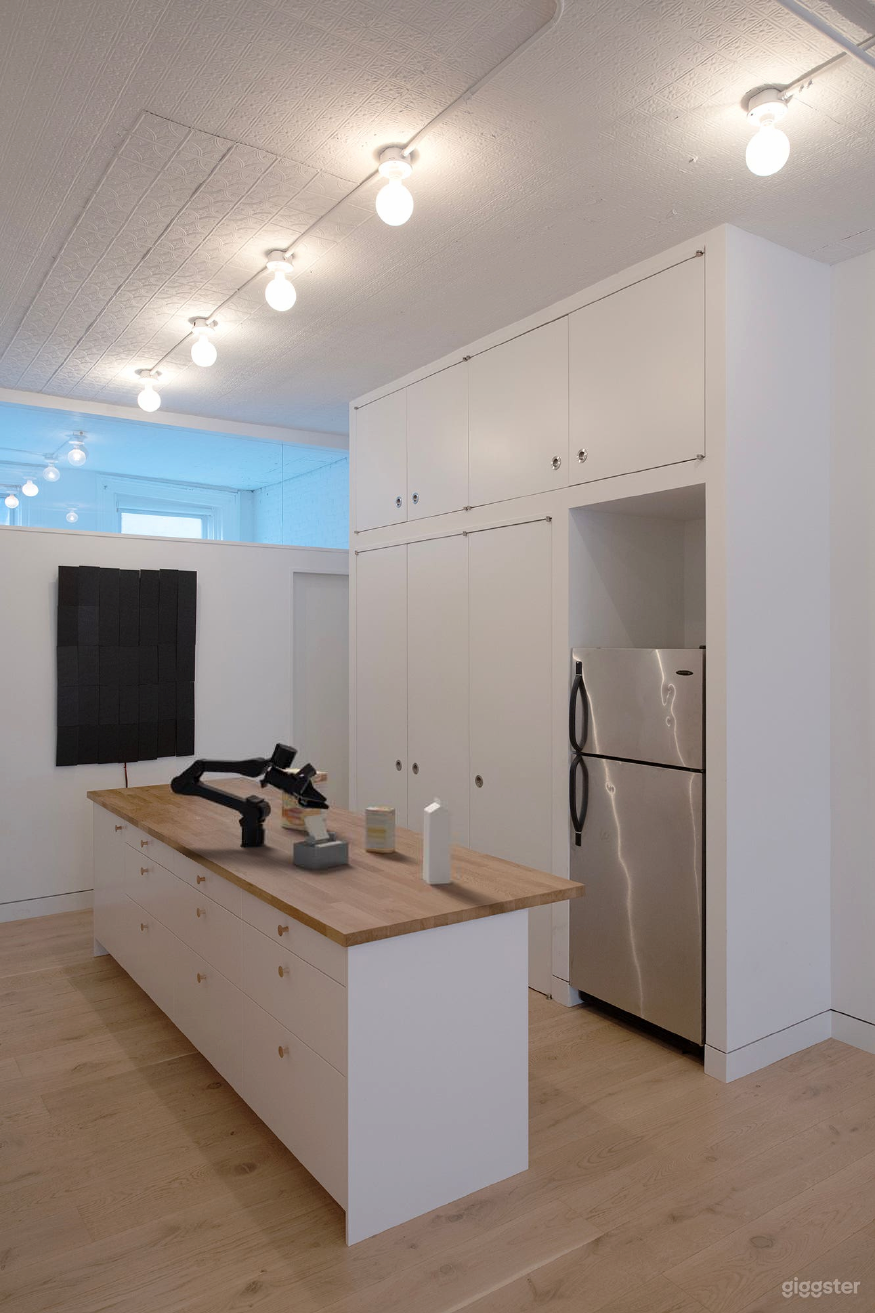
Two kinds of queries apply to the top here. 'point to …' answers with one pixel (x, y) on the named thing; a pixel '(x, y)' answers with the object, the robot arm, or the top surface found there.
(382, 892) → the top surface
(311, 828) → the lever
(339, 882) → the top surface
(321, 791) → the coffeecake box
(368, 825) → the supplement box
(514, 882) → the top surface
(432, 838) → the milk
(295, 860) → the box
